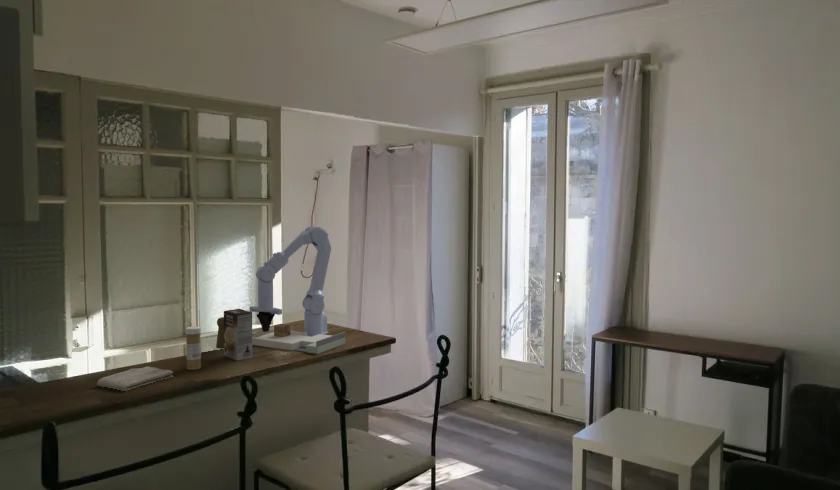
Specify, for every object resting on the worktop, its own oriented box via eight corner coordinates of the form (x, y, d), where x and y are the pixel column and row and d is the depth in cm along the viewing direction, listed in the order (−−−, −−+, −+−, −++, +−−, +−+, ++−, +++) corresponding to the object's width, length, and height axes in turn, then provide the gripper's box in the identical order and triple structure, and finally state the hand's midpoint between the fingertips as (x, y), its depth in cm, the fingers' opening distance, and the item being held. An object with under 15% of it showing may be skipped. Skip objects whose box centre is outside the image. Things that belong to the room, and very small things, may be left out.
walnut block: (281, 333, 234) (281, 323, 233) (290, 335, 232) (290, 324, 231) (274, 336, 230) (273, 325, 229) (283, 337, 228) (283, 326, 227)
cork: (235, 345, 225) (235, 316, 224) (229, 348, 219) (228, 319, 218) (220, 344, 226) (219, 315, 225) (213, 348, 220) (212, 318, 219)
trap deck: (282, 335, 242) (282, 324, 242) (345, 343, 229) (345, 332, 228) (252, 344, 226) (252, 333, 225) (317, 353, 213) (317, 341, 212)
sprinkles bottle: (200, 366, 196) (199, 325, 195) (202, 369, 192) (201, 328, 191) (185, 367, 194) (184, 326, 193) (186, 371, 190) (186, 329, 189)
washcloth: (176, 378, 184) (175, 368, 184) (124, 394, 168) (124, 383, 167) (148, 373, 189) (148, 363, 189) (96, 388, 173) (96, 378, 172)
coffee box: (223, 356, 209) (222, 310, 208) (239, 352, 213) (239, 308, 212) (236, 360, 202) (236, 314, 201) (253, 357, 207) (253, 311, 206)
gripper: (244, 296, 233) (244, 331, 234) (273, 299, 226) (273, 335, 227) (256, 294, 239) (256, 328, 240) (285, 297, 233) (285, 331, 234)
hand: (265, 331), depth 234 cm, fingers closed
